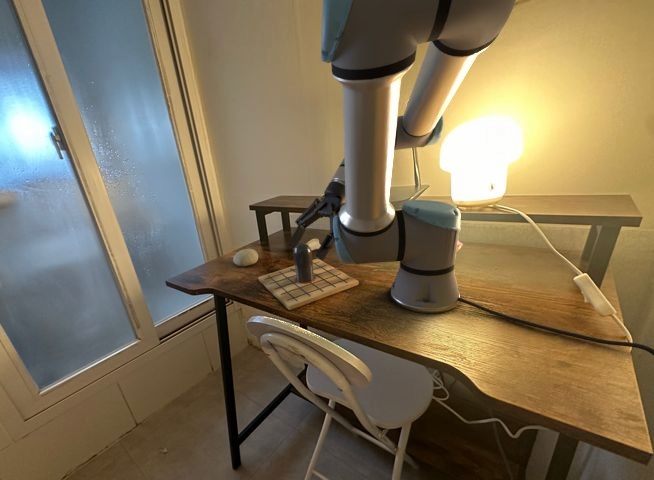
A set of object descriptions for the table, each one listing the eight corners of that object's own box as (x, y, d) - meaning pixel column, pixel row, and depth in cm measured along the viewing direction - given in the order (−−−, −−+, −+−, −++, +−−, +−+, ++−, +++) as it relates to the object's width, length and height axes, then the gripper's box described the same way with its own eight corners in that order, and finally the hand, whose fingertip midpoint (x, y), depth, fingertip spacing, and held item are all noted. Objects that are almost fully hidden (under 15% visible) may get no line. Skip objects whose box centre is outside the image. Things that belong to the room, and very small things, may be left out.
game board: (358, 284, 85) (358, 280, 84) (289, 310, 78) (288, 306, 77) (317, 261, 103) (317, 258, 103) (258, 280, 96) (258, 276, 96)
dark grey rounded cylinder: (317, 278, 89) (314, 243, 84) (301, 284, 87) (297, 248, 82) (308, 273, 93) (305, 239, 88) (293, 278, 91) (289, 243, 87)
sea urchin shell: (226, 260, 110) (236, 241, 111) (241, 269, 116) (250, 250, 117) (241, 265, 104) (251, 245, 105) (256, 274, 109) (265, 254, 110)
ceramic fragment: (317, 243, 119) (317, 233, 118) (329, 244, 116) (328, 234, 115) (298, 256, 110) (297, 247, 108) (311, 258, 107) (310, 248, 105)
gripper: (382, 199, 78) (341, 269, 79) (322, 191, 98) (289, 248, 99) (367, 182, 74) (324, 256, 74) (307, 178, 94) (273, 237, 94)
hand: (304, 252), depth 86 cm, fingers open, 13 cm apart
